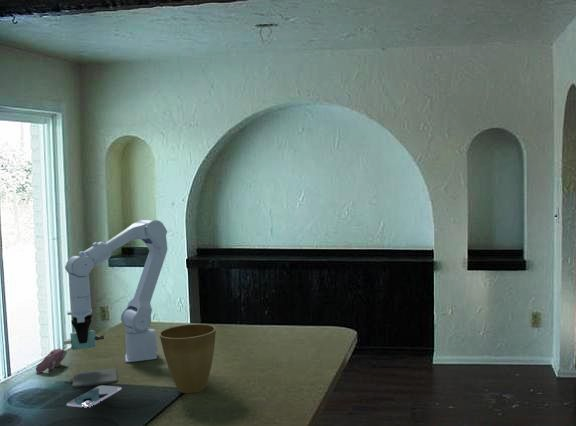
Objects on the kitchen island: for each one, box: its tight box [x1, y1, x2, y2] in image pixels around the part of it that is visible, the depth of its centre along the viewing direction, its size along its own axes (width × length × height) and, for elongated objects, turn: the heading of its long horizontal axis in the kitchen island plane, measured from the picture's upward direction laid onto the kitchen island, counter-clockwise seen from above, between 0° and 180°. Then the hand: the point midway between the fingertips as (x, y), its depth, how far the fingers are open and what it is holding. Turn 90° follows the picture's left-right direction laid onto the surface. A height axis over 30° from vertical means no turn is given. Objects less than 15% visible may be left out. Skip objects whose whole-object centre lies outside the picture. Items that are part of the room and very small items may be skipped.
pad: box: [71, 367, 118, 389], centre depth 190 cm, size 12×12×1 cm
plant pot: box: [159, 323, 217, 394], centre depth 177 cm, size 15×15×16 cm
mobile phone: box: [66, 384, 122, 409], centre depth 175 cm, size 8×1×15 cm
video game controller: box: [35, 348, 68, 374], centre depth 202 cm, size 10×5×7 cm, turn 169°
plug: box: [63, 329, 105, 351], centre depth 198 cm, size 11×4×4 cm, turn 105°
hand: (83, 341), depth 198 cm, fingers closed on plug, 4 cm apart
